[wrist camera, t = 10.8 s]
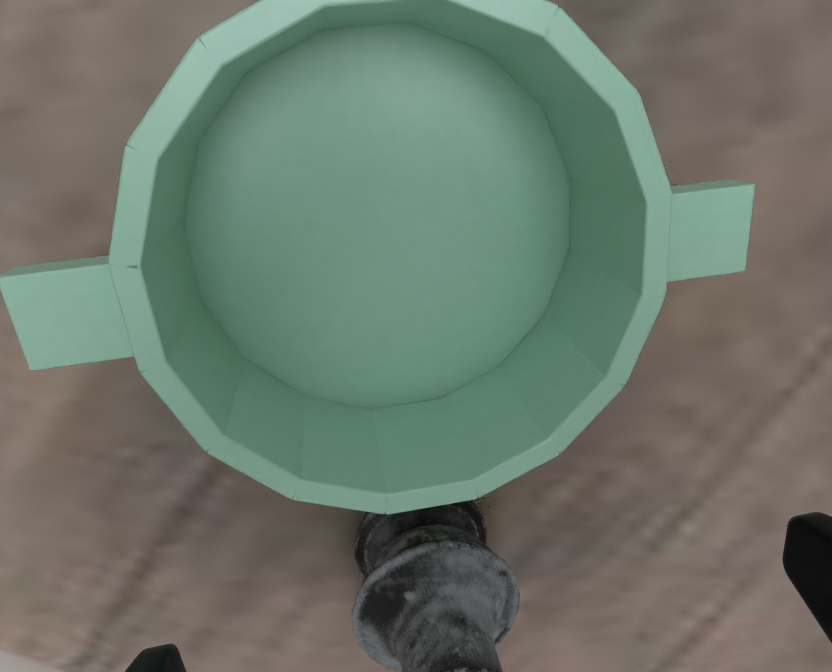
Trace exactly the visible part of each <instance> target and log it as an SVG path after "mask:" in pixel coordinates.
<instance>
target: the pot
mask: <svg viewBox="0 0 832 672" xmlns="http://www.w3.org/2000/svg"><path fill="white" fill-rule="evenodd" d="M754 193H755V184H752V183H748V182H743V181H739V180H734V179H729V180H720V181H712V182H704V183H696V184H688V185H680V186H671V187H670V184H669V181H668V178H667V175H666V172H665V169H664V166H663V163H662V160H661V157H660V154H659V151H658V148H657V145H656V142H655V139H654V136H653V133H652V130H651V127H650V124H649V121H648V118H647V115H646V112H645V109H644V106H643V103H642V100H641V97H640V94H639V93H638V92H637V90H636V88H635V87H634V86H633V85H632V84H631V83H630V82H629V81H628V80H627V79H626V78H625V77H624V75H623V74H622V73H621V72H620V71H619V70H618V69H617V68H616V67H615V66H614V65H613V63H612V62H611V61H610V60H609V59H608V58H607V57H606V56H605V55H604V54H603V53H602V52H601V50H600V49H599V48H598V47H597V46H596V45H595V44H594V43H593V42H592V41H591V40H590V39H589V37H588V36H587V35H586V34H585V33H584V32H583V31H582V30H581V29H580V28H579V27H578V26H577V24H576V23H575V22H574V21H573V20H572V19H571V18H570V17H569V16H568V15H567V14H566V13H565V11H564V10H563V9H562V8H558V5H557V4H554V3H552V2H549V1H547V0H259V1H257V2H255V3H254V4H252V5H250V6H249V7H247V8H245V9H244V10H242V11H240V12H238V13H237V14H235V15H233V16H232V17H230V18H228V19H227V20H225V21H223V22H221V23H220V24H218V25H216V26H215V27H213V28H211V29H210V30H208V31H206V32H204V33H203V34H201V35H200V36H199V39H196V40H195V41H194V42H193V44H192V45H191V47H190V48H189V50H188V51H187V53H186V54H185V56H184V57H183V59H182V60H181V62H180V63H179V65H178V66H177V68H176V69H175V71H174V72H173V74H172V75H171V76H170V78H169V79H168V81H167V82H166V84H165V85H164V87H163V88H162V90H161V91H160V93H159V94H158V96H157V97H156V99H155V100H154V102H153V103H152V105H151V106H150V108H149V109H148V111H147V112H146V114H145V115H144V117H143V118H142V120H141V121H140V123H139V124H138V126H137V127H136V129H135V130H134V132H133V133H132V135H131V136H130V138H129V139H128V141H127V145H126V146H125V148H124V154H123V161H122V168H121V175H120V181H119V188H118V195H117V202H116V209H115V216H114V222H113V229H112V236H111V243H110V250H109V255H107V256H98V257H90V258H82V259H74V260H66V261H58V262H49V263H41V264H33V265H25V266H17V267H14V268H12V269H11V270H9V271H7V272H6V273H4V274H2V275H1V276H0V290H1V293H2V296H3V298H4V301H5V304H6V307H7V309H8V312H9V315H10V317H11V320H12V323H13V326H14V328H15V331H16V334H17V337H18V339H19V342H20V345H21V347H22V350H23V353H24V356H25V358H26V361H27V364H28V367H29V369H30V371H35V370H42V369H49V368H56V367H63V366H70V365H78V364H85V363H92V362H99V361H106V360H113V359H120V358H128V357H135V361H136V364H137V367H138V370H139V371H140V372H141V375H142V376H143V377H144V379H145V380H146V381H147V382H148V383H149V385H150V386H151V387H152V388H153V389H154V391H155V392H156V393H157V394H158V396H159V397H160V398H161V399H162V400H163V402H164V403H165V404H166V405H167V406H168V408H169V409H170V410H171V411H172V412H173V414H174V415H175V416H176V417H177V419H178V420H179V421H180V422H181V423H182V425H183V426H184V427H185V428H186V429H187V431H188V432H189V433H190V434H191V436H192V437H193V438H194V439H195V440H196V442H197V443H198V444H199V445H200V446H201V448H202V449H203V450H204V451H207V453H208V454H209V455H211V456H213V457H215V458H217V459H218V460H220V461H222V462H224V463H226V464H227V465H229V466H231V467H233V468H235V469H236V470H238V471H240V472H242V473H244V474H246V475H247V476H249V477H251V478H253V479H255V480H256V481H258V482H260V483H262V484H264V485H265V486H267V487H269V488H271V489H273V490H274V491H276V492H278V493H280V494H282V495H284V496H285V497H287V498H289V499H293V500H295V501H301V502H308V503H314V504H320V505H327V506H333V507H339V508H346V509H352V510H359V511H365V512H371V513H378V514H385V513H386V514H387V515H388V514H394V513H400V512H406V511H411V510H417V509H423V508H429V507H434V506H440V505H446V504H452V503H457V502H463V501H469V500H475V499H477V497H478V498H479V497H482V496H483V495H485V494H487V493H489V492H491V491H493V490H495V489H497V488H498V487H500V486H502V485H504V484H506V483H508V482H510V481H512V480H513V479H515V478H517V477H519V476H521V475H523V474H525V473H527V472H528V471H530V470H532V469H534V468H536V467H538V466H540V465H541V464H543V463H545V462H547V461H549V460H551V459H553V458H555V457H556V456H558V453H562V452H563V451H564V450H565V449H566V448H567V447H568V446H569V444H570V443H571V442H572V441H573V440H574V439H575V438H576V437H577V436H578V435H579V434H580V433H581V432H582V431H583V430H584V429H585V428H586V427H587V426H588V425H589V423H590V422H591V421H592V420H593V419H594V418H595V417H596V416H597V415H598V414H599V413H600V412H601V411H602V410H603V409H604V408H605V407H606V406H607V405H608V404H609V402H610V401H611V400H612V399H613V398H614V397H615V396H616V395H617V394H618V393H619V392H620V391H621V390H622V389H623V387H624V385H625V384H626V383H627V381H628V379H629V376H630V374H631V372H632V370H633V368H634V365H635V363H636V361H637V359H638V357H639V354H640V352H641V350H642V348H643V346H644V343H645V341H646V339H647V337H648V335H649V332H650V330H651V328H652V326H653V324H654V321H655V319H656V317H657V315H658V313H659V311H660V308H661V306H662V304H663V302H664V296H665V295H666V284H667V282H672V281H679V280H686V279H693V278H700V277H707V276H714V275H722V274H729V273H736V272H743V271H745V268H746V259H747V251H748V243H749V234H750V226H751V218H752V209H753V201H754Z"/></svg>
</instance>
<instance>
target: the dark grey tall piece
mask: <svg viewBox="0 0 832 672" xmlns="http://www.w3.org/2000/svg"><path fill="white" fill-rule="evenodd" d="M355 558H356V561H357V563H358V566H359V568H360V571H361V572H362V574H363V575H364V579H363V583H362V586H361V588H360V590H359V591H358V593H357V596H356V599H355V603H354V606H353V609H352V619H353V631H354V634H355V636H356V638H357V641H358V643H359V645H360V647H361V648H362V649H363V650H364V651H365V652H366V653H367V654H368V655H369V657H370V658H371V659H373V660H375V661H376V662H378V663H380V664H382V665H383V666H385V667H387V668H389V669H392V670H396V671H399V672H503V671H502V668H501V665H500V662H499V659H498V656H497V653H496V649H495V646H497V645H498V644H499V643H500V642H501V640H502V639H503V638H504V636H505V635H506V634H507V632H508V631H509V630H510V628H511V627H512V625H513V622H514V620H515V617H516V615H517V612H518V609H519V597H520V592H519V588H518V585H517V581H516V577H515V575H514V573H513V572H512V570H511V569H510V568H509V566H508V565H507V563H506V562H505V561H504V560H503V559H502V558H500V557H499V556H498V555H496V554H495V553H494V552H492V550H491V549H490V548H489V547H487V546H486V527H485V524H484V520H483V517H482V515H481V513H480V512H479V510H478V509H477V507H476V506H475V504H474V503H472V502H471V501H470V500H469V501H463V502H457V503H452V504H446V505H440V506H434V507H429V508H423V509H417V510H411V511H406V512H400V513H394V514H388V515H387V514H386V513H385V514H378V513H371V512H369V513H368V514H367V515H366V517H365V518H364V520H363V522H362V523H361V525H360V526H359V528H358V532H357V536H356V539H355Z"/></svg>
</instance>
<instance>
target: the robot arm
mask: <svg viewBox="0 0 832 672" xmlns="http://www.w3.org/2000/svg"><path fill="white" fill-rule="evenodd" d="M783 565H784V569H785V571H786V574H787V576H788V577H789V579H790V580H791V582H792V584H793V585H794V587H795V588H796V590H797V591H798V593H799V594H800V596H801V597H802V599H803V600H804V602H805V603H806V605H807V606H808V608H809V609H810V611H811V612H812V614H813V615H814V617H815V618H816V620H817V621H818V623H819V625H820V626H821V628H822V629H823V631H824V632H825V634H826V635H827V637H828V638H829V640H830V641H831V643H832V517H831V516H828V515H826V514H823V513H819V512H813V513H808V514H803V515H798V516H794V517H792V518H791V519H790V521H789V522H788V525H787V532H786V539H785V545H784V552H783ZM125 672H186V670H185V667H184V664H183V661H182V659H181V656H180V653H179V651H178V649H177V647H176V646H175V645H173V644H166V645H161V646H156V647H152V648H147V649H145V650H143V651H142V652H141V653H139V655H138V656H137V657H136V658H135V659H134V661H133V662H132V663H131V664H130V666H129V667H128V668H127V669H126V671H125Z"/></svg>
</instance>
